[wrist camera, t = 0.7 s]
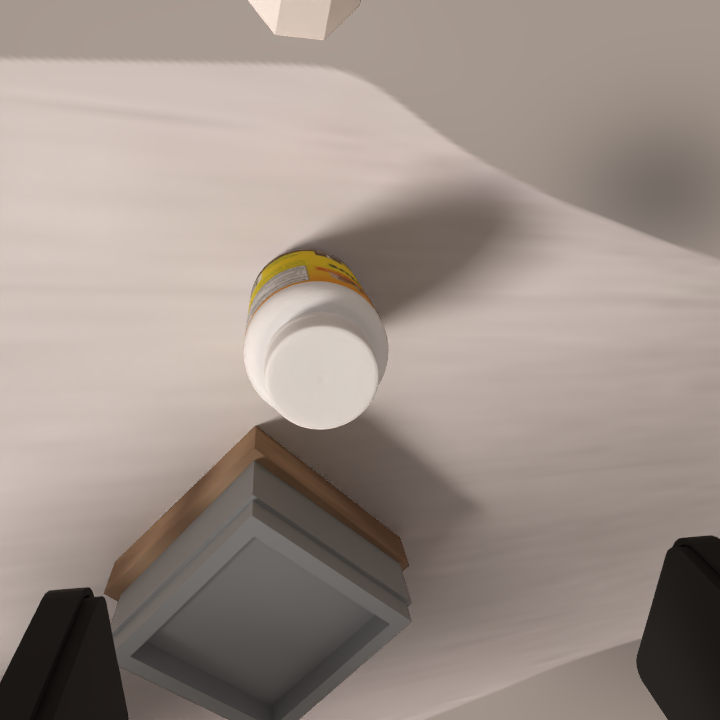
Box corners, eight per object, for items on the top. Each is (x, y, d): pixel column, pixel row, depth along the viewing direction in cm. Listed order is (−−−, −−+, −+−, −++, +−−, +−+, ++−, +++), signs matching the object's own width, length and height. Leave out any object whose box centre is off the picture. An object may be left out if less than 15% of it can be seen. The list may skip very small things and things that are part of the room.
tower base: (268, 645, 38) (268, 686, 35) (117, 555, 33) (103, 593, 30) (398, 532, 36) (408, 565, 33) (256, 420, 31) (254, 448, 28)
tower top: (273, 676, 35) (273, 744, 31) (120, 594, 31) (98, 660, 27) (399, 563, 33) (416, 621, 29) (254, 459, 29) (251, 510, 25)
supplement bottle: (377, 321, 29) (427, 408, 20) (283, 368, 30) (289, 476, 20) (330, 225, 27) (361, 272, 18) (229, 276, 27) (207, 350, 18)
